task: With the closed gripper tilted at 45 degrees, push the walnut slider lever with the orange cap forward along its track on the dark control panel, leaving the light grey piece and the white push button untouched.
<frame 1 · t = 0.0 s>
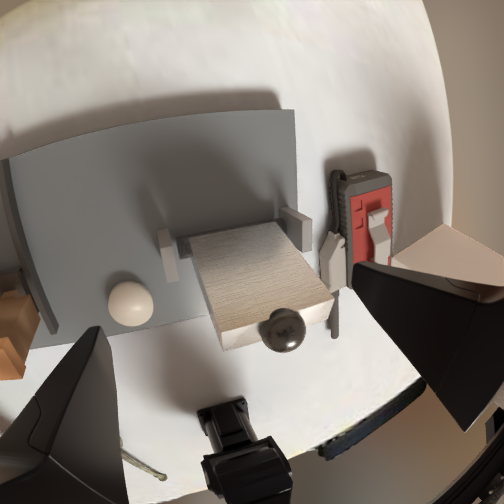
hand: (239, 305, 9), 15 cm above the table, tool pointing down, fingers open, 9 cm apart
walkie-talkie: (348, 253, 31), on the table
milk: (417, 272, 37), on the table
light grey piece: (254, 278, 18), point 8 cm above the table, hinge at -15.0°
soupspoon: (126, 450, 32), on the table
control panel: (116, 233, 21), on the table
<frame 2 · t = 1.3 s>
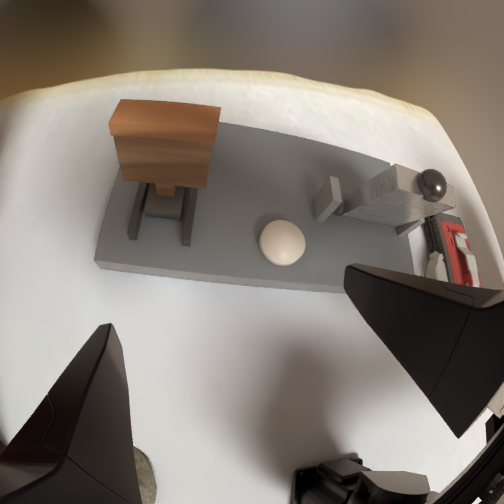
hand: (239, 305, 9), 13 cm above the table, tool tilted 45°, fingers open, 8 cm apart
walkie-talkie: (444, 289, 29), on the table
light grey piece: (397, 200, 21), point 8 cm above the table, hinge at -15.0°
walnut slider lever: (165, 161, 18), point 7 cm above the table, slide at 0.0 cm
control panel: (273, 205, 27), on the table
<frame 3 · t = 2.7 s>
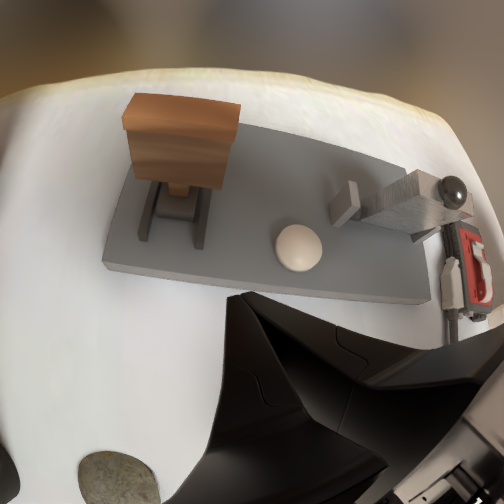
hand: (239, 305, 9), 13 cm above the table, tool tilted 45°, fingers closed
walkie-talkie: (458, 297, 28), on the table
light grey piece: (416, 206, 20), point 8 cm above the table, hinge at -15.0°
walnut slider lever: (180, 160, 18), point 7 cm above the table, slide at 0.0 cm
control panel: (288, 209, 26), on the table
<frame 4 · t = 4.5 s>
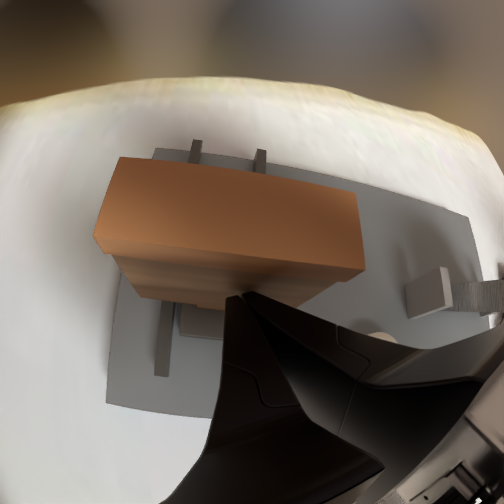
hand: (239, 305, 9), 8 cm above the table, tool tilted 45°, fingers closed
walnut slider lever: (219, 272, 10), point 7 cm above the table, slide at 0.1 cm, touching gripper
control panel: (351, 292, 19), on the table
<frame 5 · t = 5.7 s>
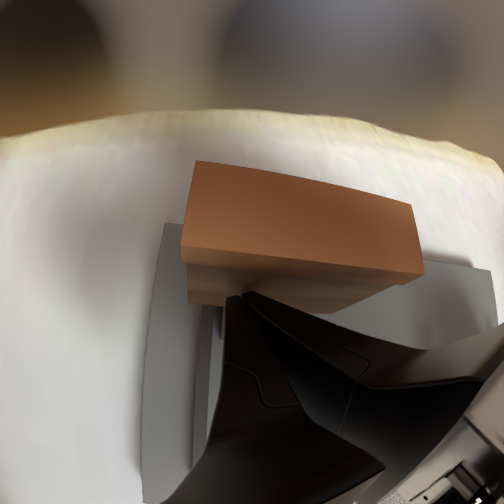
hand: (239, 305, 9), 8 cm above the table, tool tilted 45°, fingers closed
walnut slider lever: (272, 276, 11), point 7 cm above the table, slide at 5.9 cm, touching gripper
control panel: (377, 372, 17), on the table
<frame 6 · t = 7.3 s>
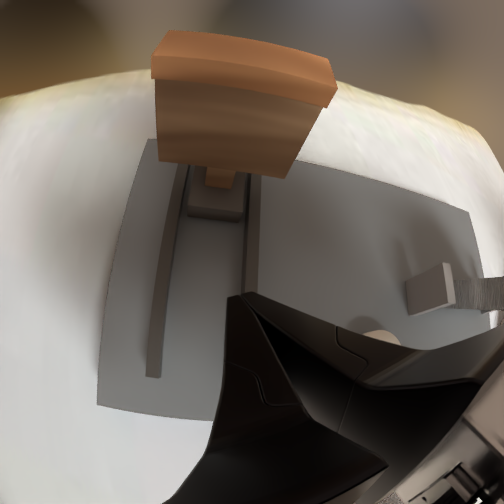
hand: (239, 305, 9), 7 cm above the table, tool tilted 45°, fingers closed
walnut slider lever: (228, 134, 12), point 7 cm above the table, slide at 6.4 cm
control panel: (350, 288, 18), on the table
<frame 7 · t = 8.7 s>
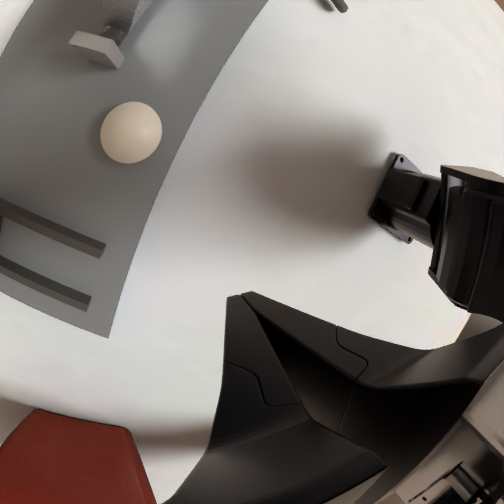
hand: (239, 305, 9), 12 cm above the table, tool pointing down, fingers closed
plant pot: (88, 442, 26), on the table
control panel: (76, 110, 15), on the table
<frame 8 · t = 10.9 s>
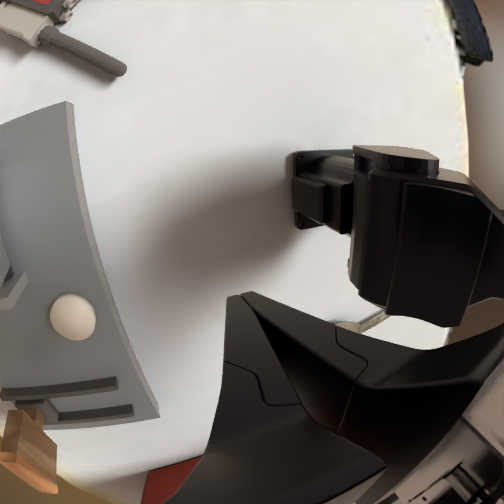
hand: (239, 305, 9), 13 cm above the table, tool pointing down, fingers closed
plant pot: (198, 471, 36), on the table
soupspoon: (371, 312, 34), on the table
walnut slider lever: (32, 439, 15), point 7 cm above the table, slide at 6.4 cm
control panel: (30, 309, 18), on the table
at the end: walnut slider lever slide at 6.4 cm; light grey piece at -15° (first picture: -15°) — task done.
